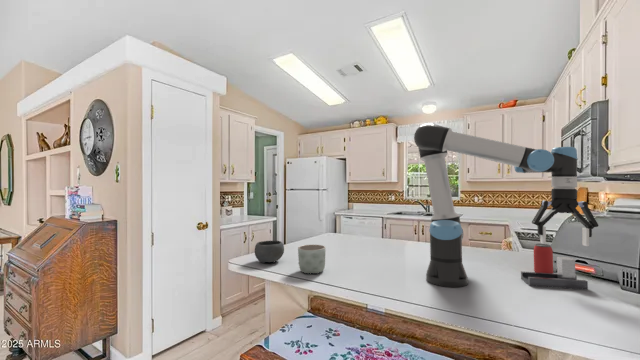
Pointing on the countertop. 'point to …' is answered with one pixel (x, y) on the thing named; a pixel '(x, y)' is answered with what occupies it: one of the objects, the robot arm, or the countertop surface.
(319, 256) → the planter
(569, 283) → the dark grey tray
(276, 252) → the bowl
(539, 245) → the beer can
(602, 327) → the countertop surface
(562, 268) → the grey rectangular block
